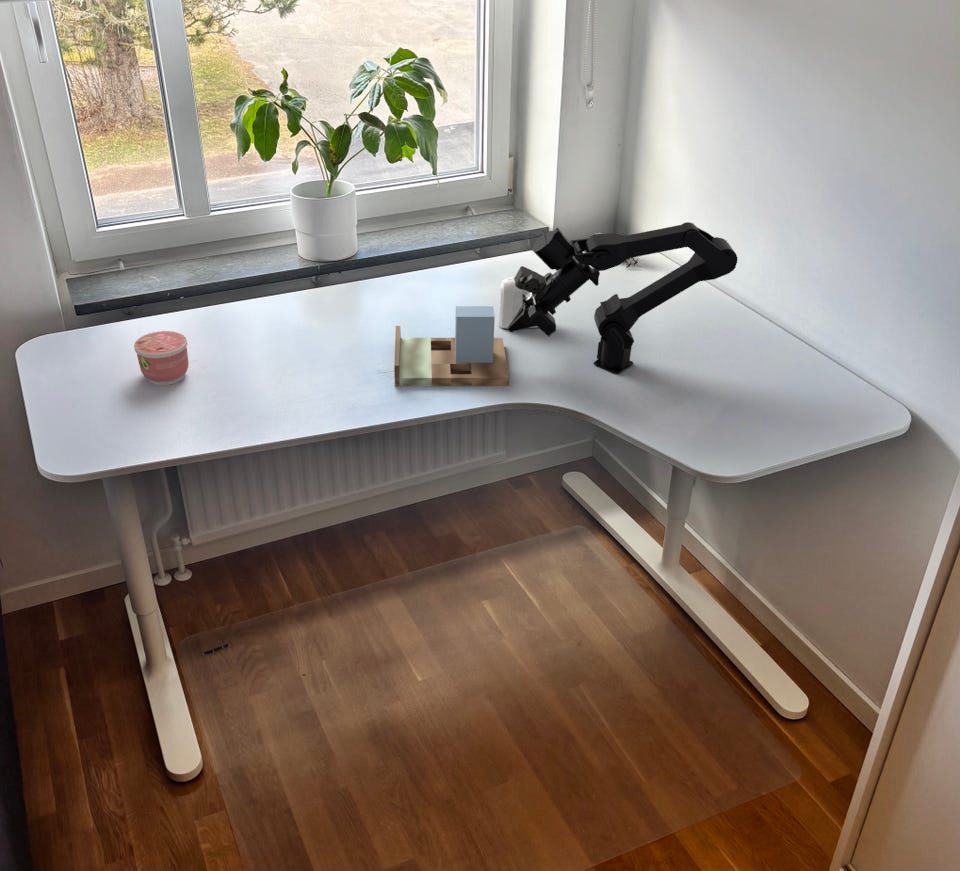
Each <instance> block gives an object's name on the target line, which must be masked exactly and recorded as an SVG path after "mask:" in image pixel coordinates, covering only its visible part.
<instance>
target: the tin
mask: <svg viewBox="0 0 960 871" xmlns="http://www.w3.org/2000/svg"><path fill="white" fill-rule="evenodd" d="M494 310H495V309H494V305H493V306H492V305H491V306H490V305H488V306H487V305H486V306H485V305H477V306H476V305H475V306H474V305H471V306H469V305H464V306H463V305H455V324H454V325H455V326H454V327H455V328H454V330H455V332H454V333H455V334H454V335H455V336H454V338H455V359H456V363H493V344H494V338H495V318H496V317H495V311H494Z"/></svg>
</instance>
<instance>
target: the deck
mask: <svg viewBox="0 0 960 871" xmlns="http://www.w3.org/2000/svg"><path fill="white" fill-rule="evenodd" d="M401 333H402V332H401V325H396V326H395V339H394V341H395V342H394V361H393V362H394V364H393V366H394V368H393V369H394V387H509V382H510V377H509V371H508V363H507V358H506V357H507V356H506V350H505V344H504V339H503V337H494V344H493V363H456V359H455V337H401Z"/></svg>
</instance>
